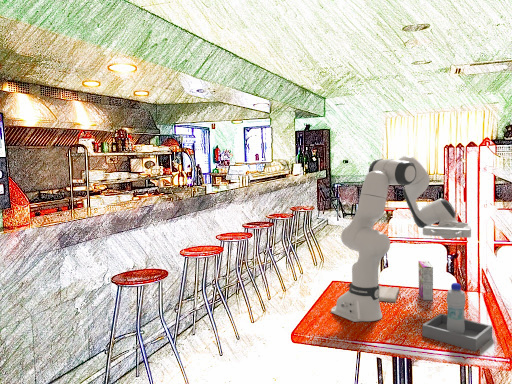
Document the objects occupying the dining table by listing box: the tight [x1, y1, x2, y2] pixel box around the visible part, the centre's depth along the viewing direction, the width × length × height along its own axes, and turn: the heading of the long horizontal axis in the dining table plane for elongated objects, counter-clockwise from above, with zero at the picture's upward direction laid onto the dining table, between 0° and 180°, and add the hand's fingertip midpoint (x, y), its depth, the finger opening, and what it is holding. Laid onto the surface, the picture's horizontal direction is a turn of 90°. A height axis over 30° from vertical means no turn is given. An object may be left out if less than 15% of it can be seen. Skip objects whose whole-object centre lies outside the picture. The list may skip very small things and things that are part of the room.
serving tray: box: [421, 313, 493, 352], centre depth 175 cm, size 20×16×4 cm
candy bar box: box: [417, 260, 434, 301], centre depth 221 cm, size 11×5×16 cm, turn 170°
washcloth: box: [379, 285, 400, 303], centre depth 225 cm, size 12×18×3 cm, turn 157°
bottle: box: [446, 282, 467, 335], centre depth 175 cm, size 7×7×20 cm
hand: (445, 234), depth 201 cm, fingers open, 8 cm apart
